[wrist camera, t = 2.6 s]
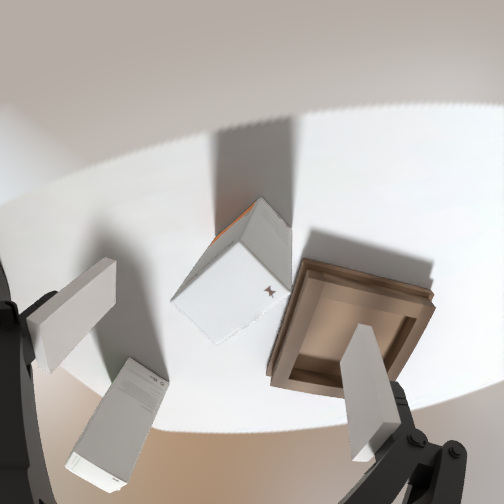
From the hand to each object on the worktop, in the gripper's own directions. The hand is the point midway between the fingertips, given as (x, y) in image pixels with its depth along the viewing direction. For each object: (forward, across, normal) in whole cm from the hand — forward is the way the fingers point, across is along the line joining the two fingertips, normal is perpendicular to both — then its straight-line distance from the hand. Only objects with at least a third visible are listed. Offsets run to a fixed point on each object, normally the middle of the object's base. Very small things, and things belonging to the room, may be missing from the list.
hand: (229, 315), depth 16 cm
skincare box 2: (+14, +1, 0) cm, 14 cm away
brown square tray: (+14, -11, +8) cm, 20 cm away
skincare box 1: (+14, +11, +24) cm, 30 cm away
